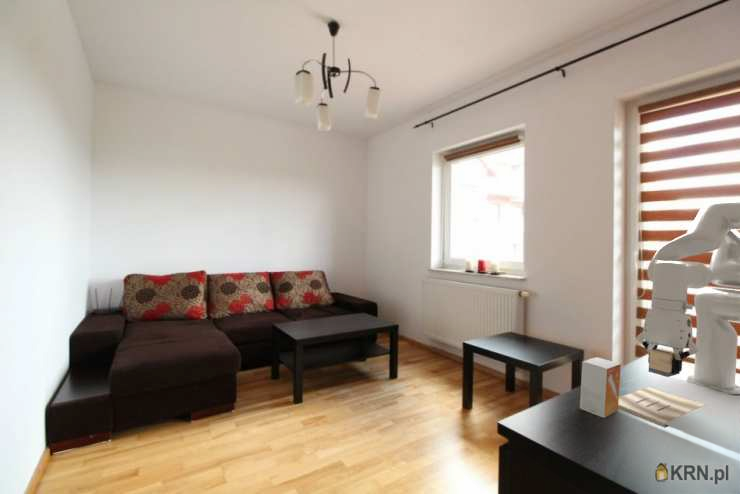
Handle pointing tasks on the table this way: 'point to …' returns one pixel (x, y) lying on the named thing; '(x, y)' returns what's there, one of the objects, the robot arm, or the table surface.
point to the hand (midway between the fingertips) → (664, 369)
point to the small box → (600, 386)
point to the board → (656, 405)
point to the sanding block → (661, 362)
